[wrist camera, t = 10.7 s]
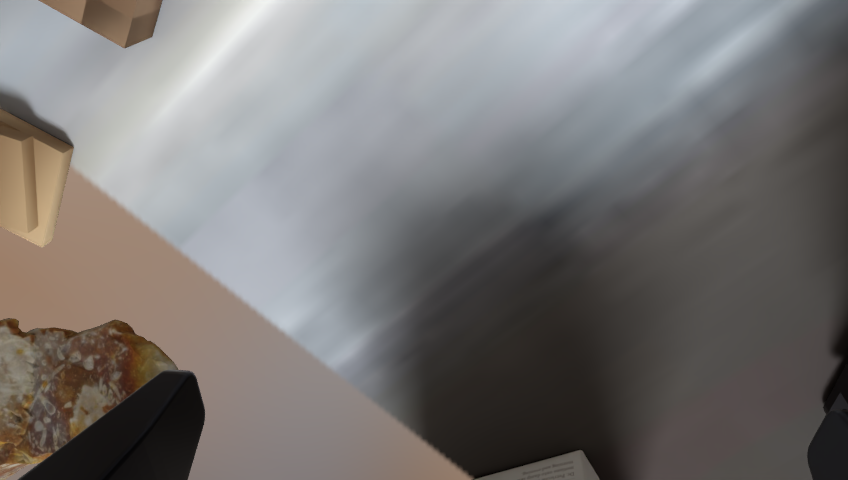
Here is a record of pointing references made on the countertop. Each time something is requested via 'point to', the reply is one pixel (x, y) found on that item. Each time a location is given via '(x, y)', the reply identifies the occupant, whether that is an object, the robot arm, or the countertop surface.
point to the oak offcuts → (31, 179)
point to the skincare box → (551, 469)
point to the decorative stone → (65, 384)
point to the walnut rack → (113, 17)
